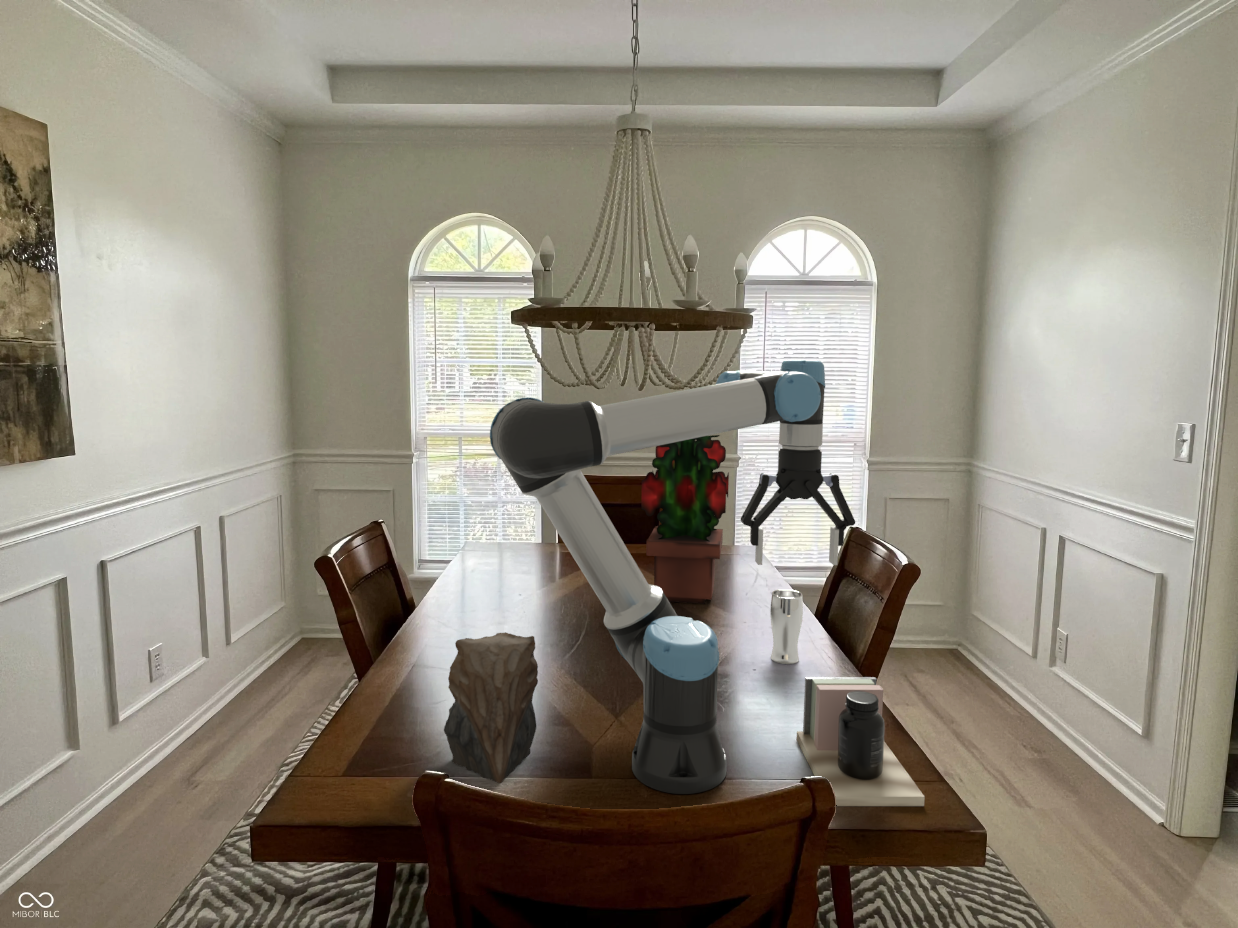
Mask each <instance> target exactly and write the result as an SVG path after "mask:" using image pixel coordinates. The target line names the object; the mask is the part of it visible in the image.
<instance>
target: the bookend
mask: <svg viewBox="0 0 1238 928" xmlns="http://www.w3.org/2000/svg"><path fill="white" fill-rule="evenodd" d="M812 679H871V680H872V681H873V682H874V685H877V680H878V679H877V678H876V677H874V676H872V677H871V676H862V677H861V676H856V677H855V676H805V677H804V693H803V694H804V696H803V697H804V699H803V719H802V720H803V721H802V723H803V724H802V725H803V727H802V731H803V733H804V735H810V721H811V697H812Z"/></svg>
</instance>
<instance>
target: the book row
mask: <svg viewBox="0 0 1238 928" xmlns="http://www.w3.org/2000/svg"><path fill="white" fill-rule="evenodd" d="M853 691H864V692H869V693H872V694H874V695H876V696H877V698H878V707H879V710H878V713H879V714H880V715H881V716H882V717H883V704H884V703H883V702H884V688H883V687H882V686H881V685H880V684H876V685H874V682H873V681H872V680H871V679H812V697H811V721H810V736H811V737H812V739H813V740H814V741H815V742H814V745H815V747H816V749H817V750H838V728H839V715H840V713H841V712H842V711H843V710H844V709H846V706H845V704H846V695H847V694H848V693H849V692H853Z"/></svg>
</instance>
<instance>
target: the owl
mask: <svg viewBox="0 0 1238 928" xmlns="http://www.w3.org/2000/svg"><path fill="white" fill-rule="evenodd" d="M454 643H455V649H456V650H457V653H456V656H455V657H454V660H453V661H452V663H451V665H450V667H449V672H448V673H449V675H448V689H449V691H450V693H451V695H452V697H453V699H454V702H453V703H452V705H451V706H450V708H449V709H448V716H447V720H446V721H445V725H444V728H443V732H444V734H445V736H446V740H447V742H448V745H449V750H450V752H451V754H452V760H451V761H452V763H453V764H455V765H457V766H459V767H464V768H465V769H466V771H471V772H473V773H475V774H478V775H480V777H482V778H484V779H488V780H492V781H493V782H495V783H498V784H502V783H503V781H504V780H505V779H506V778H507V777H508V776H509V775H510V774H511V773H513V772H514V770H515V769H516V767H517V766H519V765H521V764H522V762H523V760H524V759H525V758H526V757H528V756H529V755H530V754H531V747H532V745H533V741H534V739H535V736H536V735H535V734H536V732H537V718H536V713H535V708H534V704H533V699H534V692H535V689H536V687H537V685H538V683H539V679H538V675H539V672H538V671H539V670H538V668H539V666H538V665H539V663H538V661H537V659H536V658H535V655H534V654H535V653H534V652H535V650H536V641H535V636H533V635H531V636H530V635H529V636H521V635H516V634H512V633H508V632H497V633H496V634H495V635H491V636H483V637H480V638H471V637H470V638H469V637H468V638H467V637H465V638H461V639H457V640H456V641H455V642H454Z"/></svg>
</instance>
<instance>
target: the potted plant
mask: <svg viewBox="0 0 1238 928" xmlns="http://www.w3.org/2000/svg"><path fill="white" fill-rule="evenodd" d="M720 436H721V435H720V434H712V435H708V436H703V437H698V438H693V439H688V440H683V441H679V442H674V443H669V444H664V445H659V446H655V457H654V458H653V459H652V462H651V465H652V467H653V468H654V469H656V470H655V473H654V470H653V469H652V471H649V472H647V474H646V475H645V478H644V479H642V480H641V504H640V505H641V506H640V507H641V508H640V510H641V511H644V512H645V515H646V516H647V517H652V516H654V514H655V511H656V510H658V509H662V510H661V511H659V512H658V513H657V515H656V518H657V520H658V522H659V523H660V524H659V525H657V526H656V525H655V526H654V528H653V530H652V531H651V533H650V535H649V536H648V538H647V539H646V541H645V542H646V546H645V547H646V548H645V550H646V554H645V556H648V557H653V558H654V559H653V560H654V562H653V566H654V568H653V571H654V572H653V576H654V577H653V580H654V581H653V585H656V586H659V587H660V588H661V589H662V591H663V593H664V594H665V596H666V597H667V599H668V601H669V602H670V603H684V604H686V603H687V604H699V605H701V604H703V605H705V604H706V600H713V594H714V588H715V578H716V577H715V574H716V571H715V570H716V560H720V559H721V554H722V548H723V537H724V536H723V533H724V529H723V528H715V527H716V526H718V525H719V522H720V519H721V518H722V516H723V514H726V511H727V510H726V509H727V506H726V505H727V498H729V486H730V485H729V481H730V480H729V477H730V472H727V474H726V473H725V472H724V471H723V470H722V471H716V470H717V469H719V468H720V467H721V464H722V463H723V462H725V460H726V457H727V454H726V453H727V451H726V450H727V449H726V447H725V446H724V445H722V444H721V440H719V439H712V438H718V437H720ZM726 475H727V476H726Z"/></svg>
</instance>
